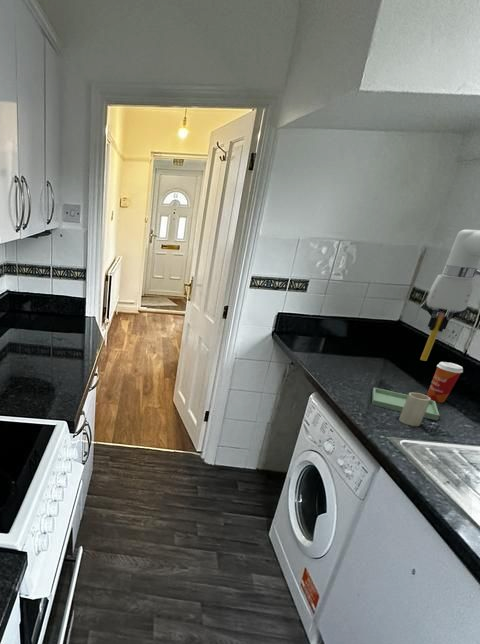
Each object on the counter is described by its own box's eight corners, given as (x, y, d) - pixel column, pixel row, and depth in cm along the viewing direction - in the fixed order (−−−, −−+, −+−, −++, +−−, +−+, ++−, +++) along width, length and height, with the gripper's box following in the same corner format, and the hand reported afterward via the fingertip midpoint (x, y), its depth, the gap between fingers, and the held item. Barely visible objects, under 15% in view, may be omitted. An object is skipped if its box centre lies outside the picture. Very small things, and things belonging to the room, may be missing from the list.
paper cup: (418, 393, 160) (433, 360, 154) (439, 395, 159) (455, 362, 153) (430, 402, 153) (446, 368, 147) (452, 405, 152) (469, 370, 146)
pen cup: (418, 422, 138) (429, 395, 134) (420, 429, 133) (431, 401, 129) (397, 417, 140) (408, 390, 136) (398, 424, 136) (409, 396, 132)
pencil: (426, 359, 139) (445, 313, 133) (426, 361, 138) (445, 314, 131) (419, 358, 140) (438, 312, 133) (420, 360, 139) (439, 313, 132)
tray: (432, 405, 151) (435, 400, 150) (437, 420, 140) (439, 415, 139) (372, 392, 160) (373, 387, 159) (371, 405, 149) (373, 400, 148)
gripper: (488, 274, 127) (463, 332, 134) (425, 268, 134) (405, 323, 141) (494, 277, 121) (468, 337, 128) (428, 270, 128) (407, 328, 135)
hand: (435, 329), depth 135 cm, fingers closed on pencil, 1 cm apart
